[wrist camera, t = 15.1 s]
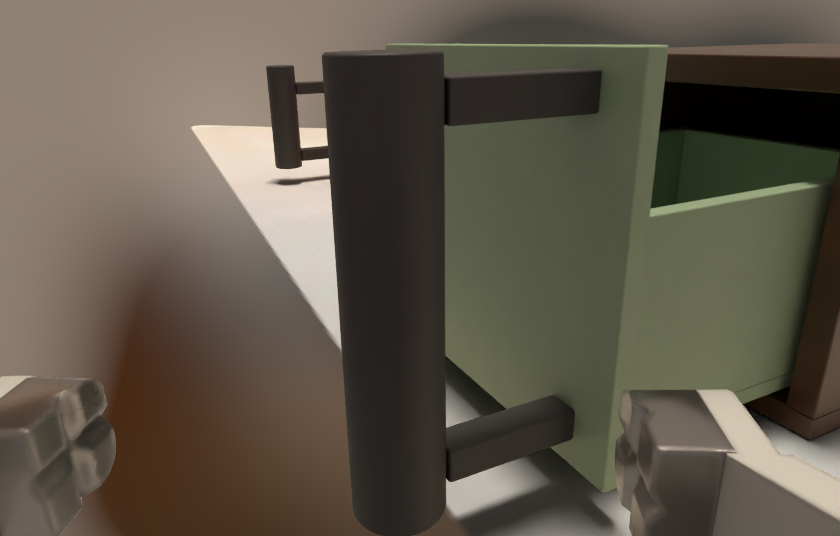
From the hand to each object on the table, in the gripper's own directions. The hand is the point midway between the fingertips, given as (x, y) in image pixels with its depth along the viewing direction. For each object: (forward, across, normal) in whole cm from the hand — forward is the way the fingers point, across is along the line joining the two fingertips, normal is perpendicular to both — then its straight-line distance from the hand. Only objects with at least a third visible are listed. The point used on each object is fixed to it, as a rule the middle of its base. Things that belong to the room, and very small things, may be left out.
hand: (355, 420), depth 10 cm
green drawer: (+14, -6, +6) cm, 16 cm away
